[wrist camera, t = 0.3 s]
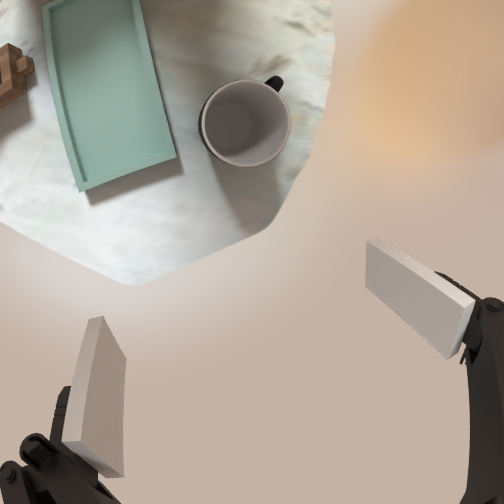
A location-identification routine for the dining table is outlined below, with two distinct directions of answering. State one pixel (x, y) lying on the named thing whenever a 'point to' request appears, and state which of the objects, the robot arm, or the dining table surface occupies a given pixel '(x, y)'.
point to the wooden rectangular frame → (13, 73)
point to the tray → (104, 89)
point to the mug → (245, 122)
